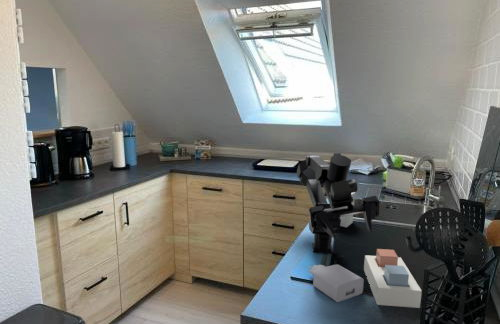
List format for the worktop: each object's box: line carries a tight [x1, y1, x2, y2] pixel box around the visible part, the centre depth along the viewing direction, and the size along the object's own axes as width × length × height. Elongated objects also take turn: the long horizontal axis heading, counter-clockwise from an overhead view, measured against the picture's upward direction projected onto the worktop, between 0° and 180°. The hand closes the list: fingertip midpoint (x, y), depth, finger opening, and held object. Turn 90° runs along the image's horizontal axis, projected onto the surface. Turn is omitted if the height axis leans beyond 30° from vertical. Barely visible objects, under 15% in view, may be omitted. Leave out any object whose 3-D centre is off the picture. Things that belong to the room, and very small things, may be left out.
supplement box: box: [340, 192, 356, 228], centre depth 147 cm, size 7×7×13 cm
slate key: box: [384, 265, 409, 287], centre depth 95 cm, size 5×5×4 cm
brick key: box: [375, 248, 399, 267], centre depth 105 cm, size 5×5×4 cm
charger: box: [308, 264, 365, 303], centre depth 101 cm, size 5×9×15 cm
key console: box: [363, 254, 423, 309], centre depth 101 cm, size 18×10×4 cm, turn 173°
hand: (353, 234), depth 97 cm, fingers open, 9 cm apart
